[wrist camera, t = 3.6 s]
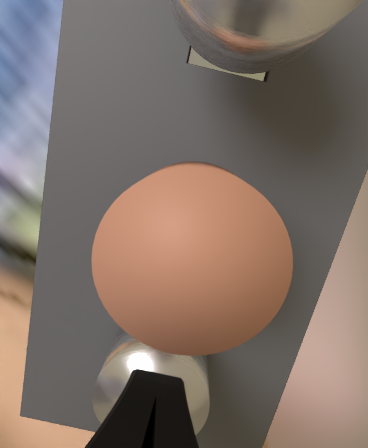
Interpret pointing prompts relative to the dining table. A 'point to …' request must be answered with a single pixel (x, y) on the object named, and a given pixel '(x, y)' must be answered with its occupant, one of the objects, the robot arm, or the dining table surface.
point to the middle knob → (192, 260)
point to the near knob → (256, 29)
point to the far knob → (155, 362)
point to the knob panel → (183, 152)
